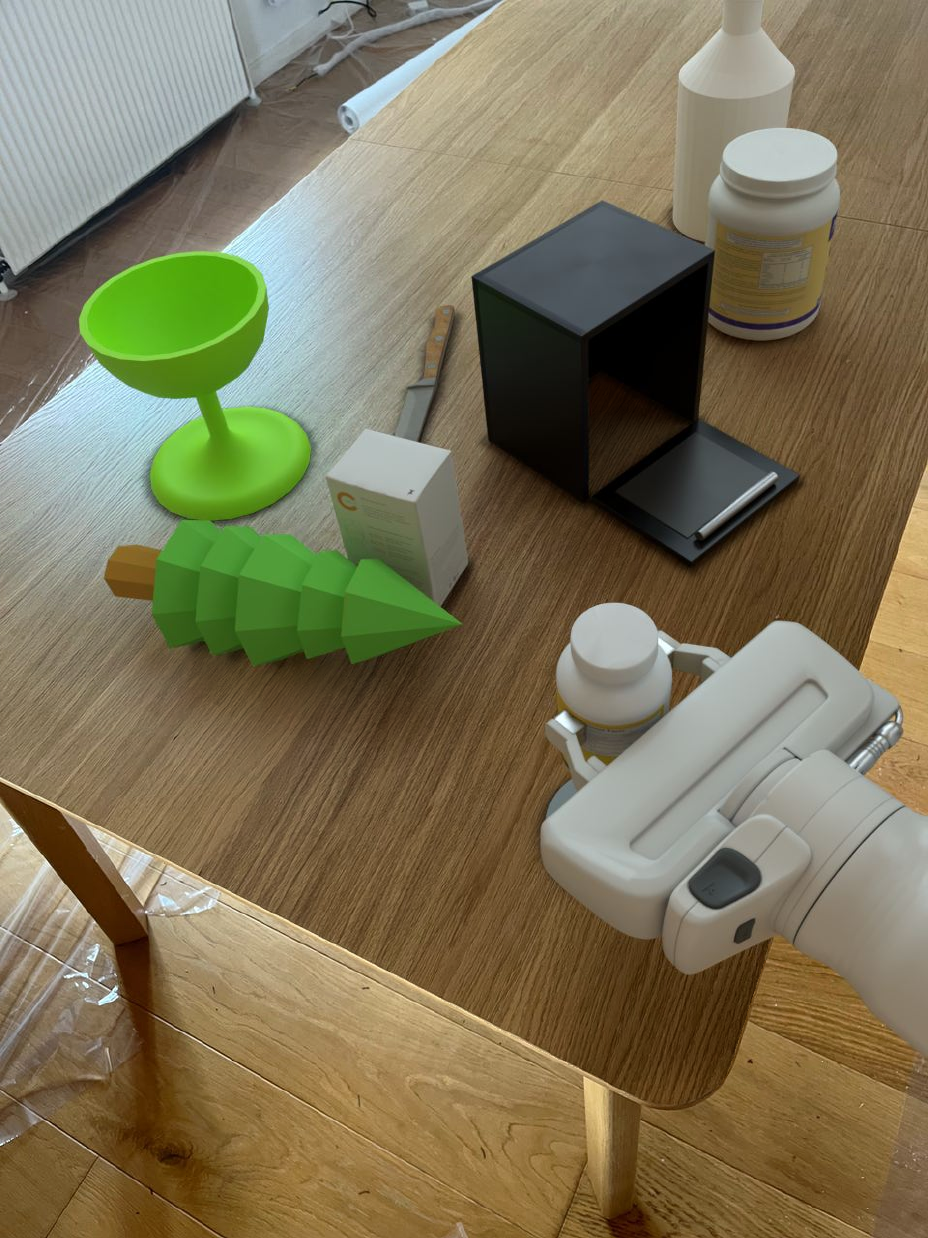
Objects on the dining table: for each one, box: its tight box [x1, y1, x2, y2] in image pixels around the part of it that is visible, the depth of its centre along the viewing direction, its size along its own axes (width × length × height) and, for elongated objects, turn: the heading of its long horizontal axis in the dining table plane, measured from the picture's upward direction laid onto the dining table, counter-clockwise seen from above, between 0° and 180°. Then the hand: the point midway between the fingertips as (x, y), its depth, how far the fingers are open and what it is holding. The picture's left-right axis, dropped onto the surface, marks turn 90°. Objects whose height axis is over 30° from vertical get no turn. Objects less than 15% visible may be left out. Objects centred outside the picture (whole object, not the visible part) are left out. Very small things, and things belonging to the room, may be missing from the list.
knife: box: [394, 304, 456, 443], centre depth 103 cm, size 31×1×3 cm
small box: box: [325, 428, 469, 608], centre depth 83 cm, size 8×6×13 cm
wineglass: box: [78, 250, 312, 522], centre depth 93 cm, size 16×16×18 cm
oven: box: [471, 199, 801, 569], centre depth 88 cm, size 25×16×18 cm, turn 41°
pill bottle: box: [555, 602, 673, 772], centre depth 59 cm, size 6×6×12 cm
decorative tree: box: [103, 519, 463, 667], centre depth 81 cm, size 11×12×30 cm
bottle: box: [672, 0, 796, 243], centre depth 110 cm, size 12×12×25 cm
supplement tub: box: [704, 127, 841, 341], centre depth 101 cm, size 12×12×17 cm
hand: (601, 682), depth 59 cm, fingers closed on pill bottle, 6 cm apart
